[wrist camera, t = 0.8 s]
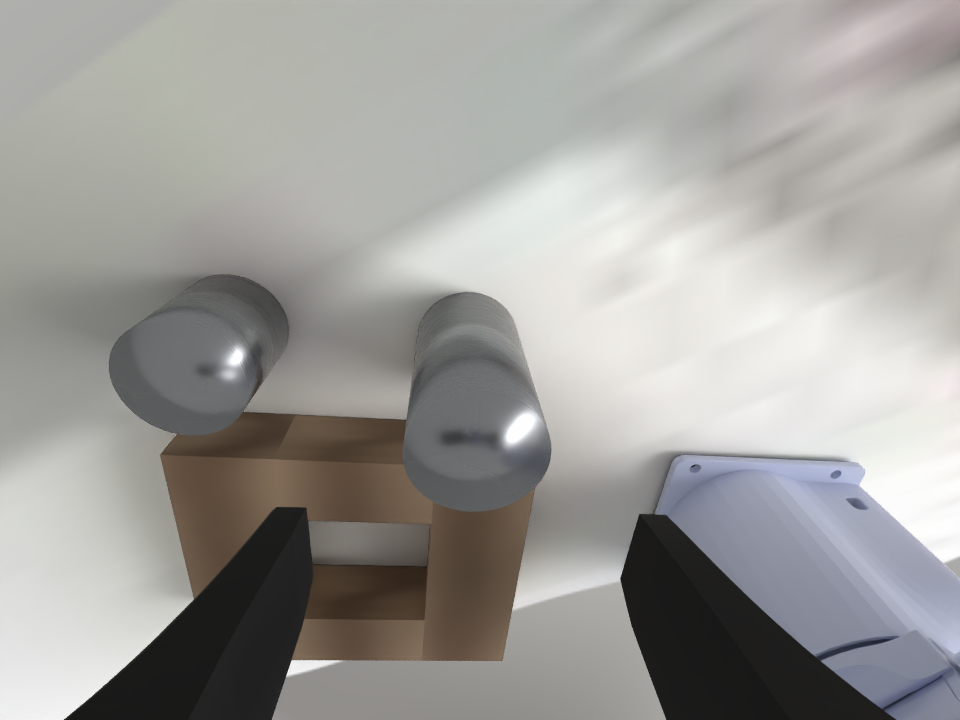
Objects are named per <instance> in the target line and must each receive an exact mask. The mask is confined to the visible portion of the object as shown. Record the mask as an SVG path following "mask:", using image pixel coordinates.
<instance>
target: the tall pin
mask: <svg viewBox="0 0 960 720" xmlns="http://www.w3.org/2000/svg"><path fill="white" fill-rule="evenodd" d="M550 457H551V442H550V437H549V433H548V430H547V427H546V423H545V420H544V417H543V414H542V410H541V407H540V404H539V401H538V397H537V394H536V391H535V388H534V384H533V381H532V378H531V375H530V371H529V368H528V365H527V362H526V358H525V355H524V352H523V349H522V345H521V342H520V339H519V336H518V332H517V329H516V326H515V323H514V320H513V318H512V317H511V315H510V313H509V312H508V311H507V309H506V308H505V307H504V306H503V305H502V304H500V303H499V302H498V301H496V300H494V299H493V298H491V297H488V296H486V295H483V294H479V293H458V294H454V295H450V296H448V297H445V298H443V299H442V300H440V301H438V302H437V303H436V304H434V305H433V306H432V307H431V308H430V309H429V310H428V311H427V313H426V314H425V316H424V317H423V319H422V321H421V324H420V327H419V330H418V338H417V345H416V353H415V361H414V368H413V376H412V383H411V391H410V399H409V406H408V414H407V422H406V429H405V437H404V444H403V463H404V468H405V471H406V473H407V476H408V477H409V479H410V481H411V483H412V484H413V485H414V486H415V488H416V489H417V490H418V491H419V492H420V493H421V494H422V495H424V496H425V497H427V498H428V499H429V500H431V501H433V502H435V503H436V504H439V505H441V506H444V507H446V508H450V509H453V510H459V511H467V512H481V511H489V510H494V509H498V508H501V507H505V506H507V505H510V504H512V503H514V502H516V501H518V500H519V499H521V498H523V497H524V496H525V495H527V494H528V493H529V492H530V491H532V490H533V489H534V488H535V487H536V486H537V484H538V483H539V482H540V481H541V479H542V478H543V476H544V474H545V472H546V470H547V468H548V465H549V462H550Z"/></svg>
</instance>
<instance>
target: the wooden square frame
mask: <svg viewBox="0 0 960 720" xmlns="http://www.w3.org/2000/svg"><path fill="white" fill-rule="evenodd" d="M406 422H407V420H390V419H369V418H348V417H328V416H307V415H286V414H266V413H245V412H242V414H241V415H240V416H239V418H238V419H237V420H236V421H235V422H234V423H232V424H231V425H230V426H228V427H226V428H225V429H223V430H220V431H218V432H215V433H211V434H206V435H182V434H177V435H176V436H175V437H174V439H173V440H172V441H171V442H170V444H169V445H168V446H167V447H166V448H165V450H164V451H163V452H162V453H161V454H160V456H161V461H162V465H163V469H164V473H165V478H166V482H167V486H168V490H169V495H170V499H171V503H172V507H173V511H174V516H175V520H176V524H177V528H178V533H179V537H180V541H181V545H182V550H183V554H184V558H185V562H186V567H187V571H188V575H189V579H190V583H191V588H192V592H193V596H194V599H195V598H196V597H197V596H198V595H199V594H200V593H201V592H202V591H203V589H204V588H205V587H206V586H207V585H208V584H209V583H210V582H211V581H212V580H213V578H214V577H215V576H216V575H217V574H218V573H219V572H220V571H221V570H222V569H223V568H224V566H225V565H226V564H227V563H228V562H229V561H230V560H231V559H232V557H233V556H234V555H235V554H236V553H237V552H238V551H239V549H240V548H241V547H242V546H243V545H244V544H245V542H246V541H247V540H248V539H249V538H250V537H251V535H252V534H253V533H254V532H255V531H256V529H257V528H258V527H259V526H260V525H261V523H262V522H263V521H264V520H265V518H266V517H267V516H268V515H269V514H270V512H271V511H272V510H273V509H275V508H276V507H307V517H308V521H341V522H376V523H410V524H430V531H429V545H428V560H427V567H399V566H351V565H312V567H313V580H312V585H311V590H310V595H309V599H308V604H307V608H306V613H305V617H304V622H303V626H302V629H301V632H300V635H299V639H298V642H297V645H296V648H295V651H294V654H293V657H292V660H423V661H424V660H425V661H427V660H428V661H430V660H432V661H434V660H435V661H441V660H442V661H444V660H445V661H446V660H447V661H451V660H452V661H453V660H454V661H502V660H503V655H504V650H505V645H506V639H507V634H508V628H509V623H510V618H511V612H512V607H513V602H514V597H515V591H516V586H517V581H518V575H519V570H520V565H521V559H522V554H523V549H524V543H525V538H526V533H527V527H528V522H529V516H530V511H531V506H532V500H533V495H534V490H535V488H534V489H533V490H532V491H530V492H529V493H528V494H527V495H525V496H524V497H523V498H521V499H519V500H518V501H516V502H514V503H512V504H510V505H507V506H505V507H501V508H498V509H494V510H489V511H481V512H467V511H459V510H453V509H450V508H446V507H444V506H441V505H439V504H436V503H435V502H433V501H431V500H429V499H428V498H427V497H425V496H424V495H422V494H421V493H420V492H419V491H418V490H417V489H416V488H415V486H414V485H413V484H412V483H411V481H410V479H409V477H408V476H407V473H406V471H405V468H404V463H403V444H404V437H405V429H406Z"/></svg>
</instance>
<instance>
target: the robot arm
mask: <svg viewBox="0 0 960 720" xmlns="http://www.w3.org/2000/svg"><path fill="white" fill-rule="evenodd" d="M695 464H696V466H694V467H692V468H691V466H693V465H695ZM864 474H865V469H864V468H863V467H862V466H860V465H859V464H858V463H855V462H834V461H811V460H789V459H766V458H744V457H721V456H698V455H680V456H678V457H676V458H675V459H674V460H673V462H672V463H671V466H670V469H669V472H668V475H667V478H666V481H665V484H664V487H663V490H662V493H661V496H660V499H659V502H658V505H657V508H656V511H655V514H639V517H638V521H637V524H636V527H635V531H634V534H633V538H632V541H631V544H630V548H629V551H628V554H627V558H626V561H625V565H624V568H623V571H622V575H621V578H620V579H621V583H622V588H623V592H624V596H625V601H626V605H627V609H628V613H629V617H630V621H631V625H632V628H633V631H634V633H635V636H636V639H637V642H638V644H639V647H640V650H641V653H642V655H643V658H644V661H645V663H646V666H647V669H648V672H649V674H650V677H651V680H652V682H653V685H654V688H655V690H656V693H657V696H658V698H659V701H660V704H661V706H662V709H663V712H664V714H665V717H666V720H960V579H959V578H958V577H957V576H956V575H955V574H954V573H953V572H952V571H951V570H950V569H949V568H948V567H947V566H946V565H945V564H943V563H942V562H941V561H940V560H939V559H938V558H937V557H936V556H935V555H934V554H933V553H932V552H930V551H929V550H928V549H927V548H926V547H925V546H924V545H923V544H922V543H921V542H920V541H919V540H917V539H916V538H915V537H914V536H913V535H912V534H911V533H910V532H909V531H908V530H907V529H906V528H904V527H903V526H902V525H901V524H900V523H899V522H898V521H897V520H896V519H895V518H894V517H893V516H891V515H890V514H889V513H888V512H887V511H886V510H885V509H884V508H883V507H882V506H881V505H880V504H878V503H877V502H876V501H875V500H874V499H873V498H872V497H871V496H870V495H869V494H868V493H867V492H866V491H864V490H863V489H862V488H861V487H860V486H859V484H860V482H861V480H862V478H863V477H864ZM312 580H313V567H312V557H311V547H310V537H309V527H308V517H307V507H276V508H275V509H273V510H272V511H271V512H270V514H269V515H268V516H267V517H266V518H265V520H264V521H263V522H262V523H261V525H260V526H259V527H258V528H257V529H256V531H255V532H254V533H253V534H252V535H251V537H250V538H249V539H248V540H247V541H246V542H245V544H244V545H243V546H242V547H241V548H240V549H239V551H238V552H237V553H236V554H235V555H234V556H233V557H232V559H231V560H230V561H229V562H228V563H227V564H226V565H225V566H224V568H223V569H222V570H221V571H220V572H219V573H218V574H217V575H216V576H215V577H214V578H213V580H212V581H211V582H210V583H209V584H208V585H207V586H206V587H205V588H204V589H203V591H202V592H201V593H200V594H199V595H198V596H197V597H196V598H195V599H194V600H193V601H192V602H191V603H190V604H189V605H188V606H187V607H186V608H185V609H184V610H183V611H182V612H181V613H180V614H179V615H178V616H177V617H176V618H175V619H174V620H173V621H172V622H171V623H170V624H169V625H168V626H167V627H166V628H165V629H164V630H163V631H162V632H161V633H160V634H159V635H158V636H157V637H156V638H155V639H154V640H153V641H152V642H151V643H150V644H149V645H148V646H147V647H146V648H145V649H144V650H143V651H142V652H141V653H140V654H139V655H138V656H136V657H135V658H134V659H133V660H132V661H131V662H130V663H129V664H128V665H127V666H126V667H125V668H123V669H122V670H121V671H120V672H119V673H118V674H117V675H116V676H114V677H113V678H112V679H111V680H110V681H109V682H108V683H107V684H105V685H104V686H103V687H102V688H101V689H100V690H99V691H98V692H96V693H95V694H94V695H93V696H92V697H91V698H89V699H88V700H87V701H86V702H85V703H83V704H82V705H81V706H80V707H79V708H77V709H76V710H75V711H74V712H73V713H71V714H70V715H69V716H68V717H67V718H65V719H64V720H272V717H273V714H274V711H275V708H276V705H277V702H278V698H279V695H280V693H281V690H282V686H283V684H284V681H285V678H286V675H287V672H288V669H289V666H290V663H291V660H292V657H293V654H294V651H295V648H296V645H297V642H298V639H299V635H300V632H301V629H302V626H303V622H304V617H305V613H306V608H307V604H308V599H309V595H310V590H311V585H312Z"/></svg>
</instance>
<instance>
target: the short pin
mask: <svg viewBox="0 0 960 720" xmlns="http://www.w3.org/2000/svg"><path fill="white" fill-rule="evenodd" d="M288 337H289V326H288V320H287V317H286V314H285V312H284V310H283V308H282V307H281V305H280V303H279V302H278V301H277V299H276V298H275V297H274V296H273V295H272V294H271V293H270V292H269V291H268V290H266V289H265V288H264V287H262V286H261V285H259V284H258V283H256V282H254V281H252V280H249V279H246V278H244V277H240V276H236V275H214V276H210V277H207V278H204V279H202V280H200V281H198V282H197V283H195V284H194V285H192V286H191V287H189V288H188V289H187V290H185V291H184V292H182V293H181V294H180V295H178V296H177V297H175V298H174V299H172V300H171V301H170V302H168V303H167V304H165V305H164V306H162V307H161V308H160V309H158V310H157V311H155V312H154V313H152V314H151V315H150V316H148V317H147V318H145V319H144V320H142V321H141V322H140V323H138V324H137V325H135V326H134V327H132V328H131V329H130V330H128V331H127V332H126V333H124V334H123V335H122V336H121V337H120V338H119V339H118V340H117V342H116V343H115V345H114V347H113V348H112V351H111V354H110V359H109V372H110V378H111V381H112V384H113V386H114V388H115V390H116V392H117V394H118V395H119V397H120V398H121V400H122V401H123V402H124V403H125V404H126V406H127V407H128V408H129V409H130V410H131V411H132V412H134V413H135V414H136V415H137V416H139V417H140V418H141V419H143V420H144V421H146V422H148V423H149V424H151V425H153V426H155V427H158V428H160V429H163V430H165V431H169V432H172V433H176V434H182V435H206V434H211V433H215V432H218V431H220V430H223V429H225V428H226V427H228V426H230V425H231V424H232V423H234V422H235V421H236V420H237V419H238V418H239V416H240V415H241V414H242V412H243V411H244V409H245V408H246V406H247V405H248V403H249V402H250V400H251V399H252V397H253V396H254V394H255V393H256V391H257V390H258V388H259V387H260V385H261V384H262V382H263V381H264V379H265V378H266V376H267V375H268V373H269V372H270V370H271V369H272V368H273V366H274V365H275V363H276V362H277V360H278V359H279V357H280V356H281V354H282V353H283V351H284V349H285V347H286V345H287V342H288Z"/></svg>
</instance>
